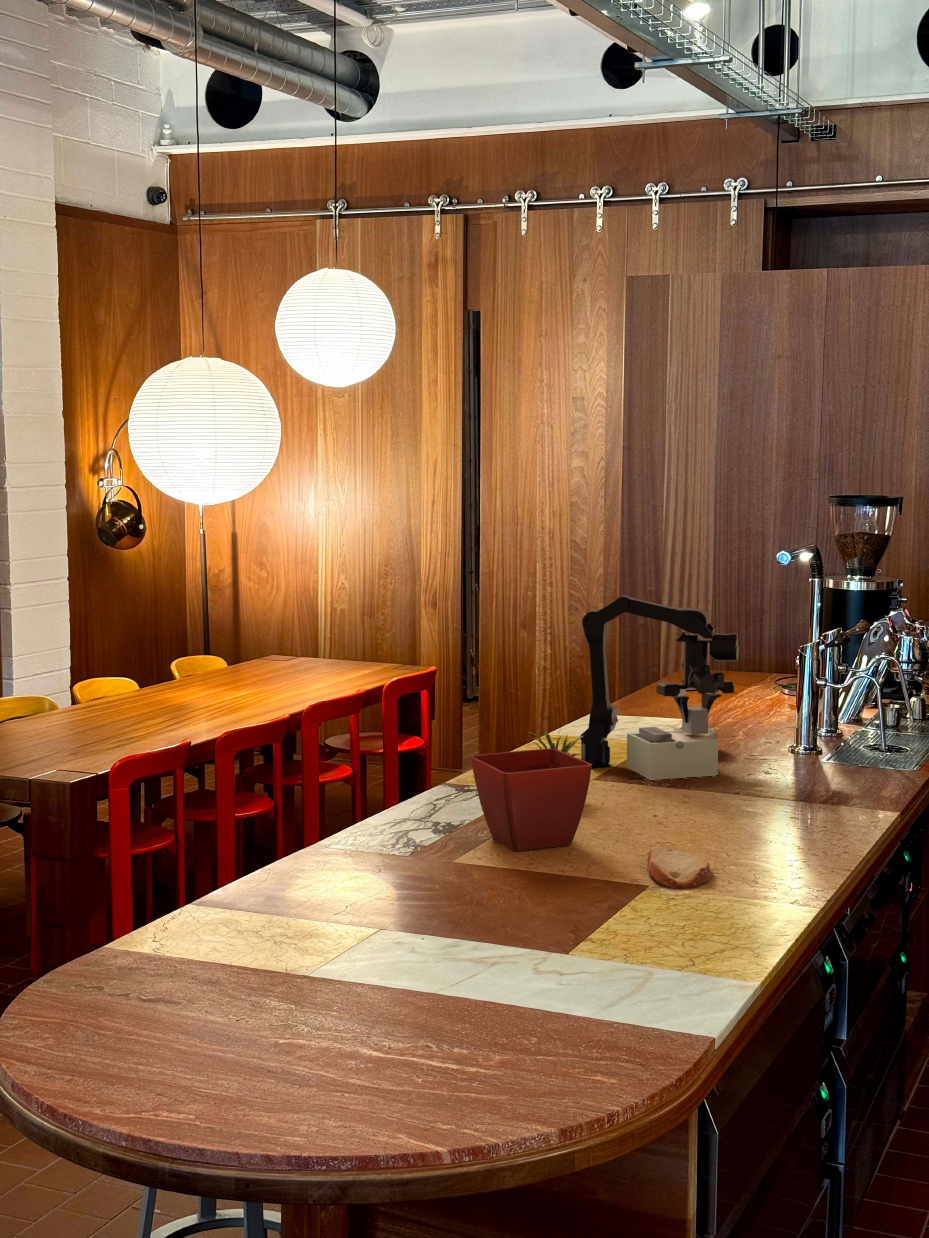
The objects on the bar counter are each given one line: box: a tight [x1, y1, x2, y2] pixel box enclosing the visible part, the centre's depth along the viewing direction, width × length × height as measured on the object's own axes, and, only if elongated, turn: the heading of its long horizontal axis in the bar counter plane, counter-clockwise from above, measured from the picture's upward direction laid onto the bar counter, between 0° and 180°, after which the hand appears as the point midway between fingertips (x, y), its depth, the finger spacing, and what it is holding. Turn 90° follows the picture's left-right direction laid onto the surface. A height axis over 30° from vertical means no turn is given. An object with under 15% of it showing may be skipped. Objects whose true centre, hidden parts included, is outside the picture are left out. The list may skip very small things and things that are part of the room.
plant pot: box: [470, 747, 593, 852], centre depth 273 cm, size 19×19×17 cm
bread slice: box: [647, 846, 712, 890], centre depth 252 cm, size 18×18×4 cm
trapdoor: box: [638, 726, 714, 743], centre depth 335 cm, size 16×12×4 cm
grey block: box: [681, 705, 709, 735], centre depth 336 cm, size 4×6×6 cm
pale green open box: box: [626, 729, 719, 781], centre depth 335 cm, size 18×16×9 cm
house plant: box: [529, 728, 585, 757], centre depth 310 cm, size 14×14×16 cm
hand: (694, 722), depth 336 cm, fingers closed on grey block, 4 cm apart
